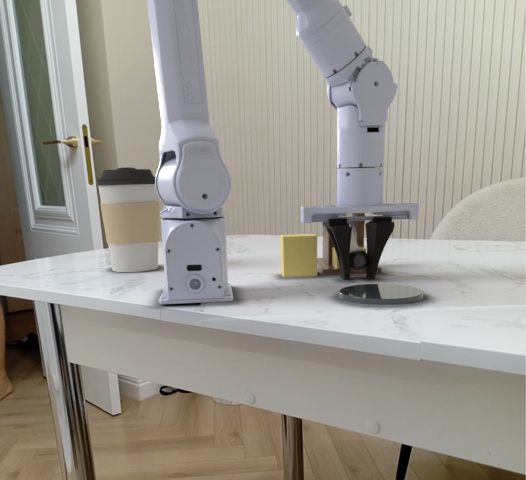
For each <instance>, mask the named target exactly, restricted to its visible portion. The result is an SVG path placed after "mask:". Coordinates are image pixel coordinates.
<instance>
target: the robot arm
mask: <svg viewBox="0 0 526 480" xmlns="http://www.w3.org/2000/svg"><path fill="white" fill-rule="evenodd" d="M285 1H286V3H287V4H288V5H289V8H291V10H292V11H293V13H294V14H295V15H296V27H295V35H296V37H297V38H298V39H299V41H300V43H301V44H302V46H303V47H304V49H305V51H306V52H307V54H308V55H309V57H310V58H311V59H312V61H313V62H314V64H315V66H316V67H317V68H318V70H319V72H320V73H321V75H322V76H323V78H324V81H325V82H326V92H327V93H326V94H327V95H326V96H327V100H328V103H329V105H330V106H331V107H333V108H334V110H335V111H337V112H336V114H337V115H336V118H337V119H336V204H332V205H331V204H329V205H311V206H301V207H300V222H301V223H303V224H312V223H321V222H325V227H326V230H327V232H328V234H329V236H330V238H331V241H332V243H333V246H334V248H335V251H336V254H337V258H338V261H339V266H340V271H341V275H340V278H341V279H342V281H343V280H344V281H351V275H350V243H351V234H352V228H351V227H350V226H349V223H347V221H365V224H364V227H365V236H366V237H365V238H366V239H365V240H366V253H367V255H368V257H369V262H368V265H367V267H366V274H365V277H366V278H367V279H369V280H376V276H377V274H376V272H377V268H378V266H379V263H380V260H381V257H382V255H383V252H384V249H385V247H386V245H387V242H388V241H389V239H390V237H391V235H392V233H393V232H394V229H395V222H394V221H393V220H419V210H420V208H419V207H420V204H419V203H418V202H417V203H416V202H407V203H405V202H401V203H398V202H395V203H384V182H385V181H384V179H385V178H384V177H385V149H386V148H385V146H386V145H385V144H386V143H385V142H386V122H388V111H389V109H390V106H391V104H392V103H393V102H394V100H395V97H396V94H397V91H398V83H395V82H394V77H393V73H392V71H391V69H390V67H389V66H388V65H387V64H386V63H385V62H384V61H383V60H379V58H376V57H373V53H374V51H373V50H372V48H371V46H370V45H367V44H366V42H365V41H364V39H363V37H362V36H361V34H360V33H359V30H358V29H357V27H356V25H355V24H354V23H353V20H352V19H351V17H352V15H353V13H352V12H351V10H350V8H349V6H348V4H344V5H343V4H342V2H341V1H340V0H285ZM198 3H199V2H198V0H146V5H147V13H148V23H149V30H150V38H151V45H152V46H151V47H152V54H153V55H152V56H153V62H154V63H153V64H154V71H155V79H156V90H157V97H158V104H159V105H158V106H159V113H160V120H161V131H160V139H159V143H158V153H159V163H158V168H157V171H156V173H155V176H154V177H155V188H156V192H157V194H158V199H159V200H160V201H161V202H162V203H163V205H164V206H163V207H162V209H161V211H160V210H159V218H160V226H161V227H160V228H161V241H162V256H163V269H164V284H165V286H164V288H163V290H162V292H161V294H160V297H159V298H158V304H159V305H177V304H178V305H181V304H202V303H204V304H205V303H206V304H207V303H225V302H227V303H228V302H233V301H234V294H233V289H232V284H231V283H229V274H228V251H227V227H226V226H227V225H226V210H224V209H223V206H224V205H225V203H226V202H227V200H228V199H229V196H230V194H231V188H232V181H231V179H232V178H231V175H230V172H229V169H228V167H227V166H226V164H225V162H224V161H223V158H222V156H221V153H220V145H219V139H218V137H217V135H216V133H215V131H214V128H213V126H212V125H211V122H210V115H209V114H210V113H209V105H208V95H207V83H206V73H205V64H204V54H203V45H202V34H201V24H200V13H199V4H198ZM346 213H365V214H372V215H365V216H359V217H337V216H346Z"/></svg>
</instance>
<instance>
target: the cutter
mask: <svg viewBox="0 0 526 480" xmlns="http://www.w3.org/2000/svg"><path fill="white" fill-rule="evenodd" d="M352 214H353V217H359V216H366V213H352ZM320 223H321V226H322V257H317V273H319V275H321V276H325V277H326V276H341V271H340V268H336V267H334V266H333V265H332V256H333V247H334V246H333V243H332V241H331V238H330V236H329V234H328V232H327V230H326V227H325V222H320ZM365 224H366V221H353V226H352V231H353V233H354V236H355V239H356V241H357V244H358V247H359V246H361V247H363V248H365ZM378 274H382V267H381V266H379V265H378V268H377V272H376V275H378ZM351 275H366V268H365V269H363V270H361V271H354V270H352V269H350V276H351Z"/></svg>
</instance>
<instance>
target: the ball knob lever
mask: <svg viewBox="0 0 526 480" xmlns="http://www.w3.org/2000/svg"><path fill="white" fill-rule="evenodd" d="M337 217H353V214H352V213H346V216H337ZM347 223H349V226H350V227H351V228H352V226H353V221H347ZM368 262H369V257H368V255H367V251H366V252H365V251H363V250H361V249H359V247H358V244H357V241H356V239H355V236H354V233H353V231H352V234H351V243H350V269H352V270H354V271H361V270H363V269H365V268H366V267H367V265H368Z"/></svg>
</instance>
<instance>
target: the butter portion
mask: <svg viewBox="0 0 526 480" xmlns="http://www.w3.org/2000/svg"><path fill="white" fill-rule="evenodd" d="M317 258H318V235H317V234H315V233H294V234H293V233H292V234H291V233H290V234H280V275H281V276H282V277H283V278H297V277H298V278H299V277H318V271H317Z"/></svg>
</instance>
